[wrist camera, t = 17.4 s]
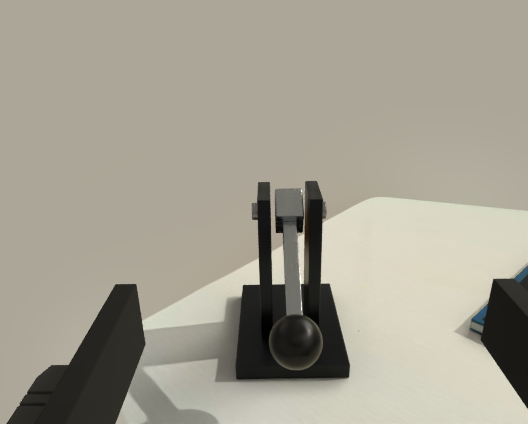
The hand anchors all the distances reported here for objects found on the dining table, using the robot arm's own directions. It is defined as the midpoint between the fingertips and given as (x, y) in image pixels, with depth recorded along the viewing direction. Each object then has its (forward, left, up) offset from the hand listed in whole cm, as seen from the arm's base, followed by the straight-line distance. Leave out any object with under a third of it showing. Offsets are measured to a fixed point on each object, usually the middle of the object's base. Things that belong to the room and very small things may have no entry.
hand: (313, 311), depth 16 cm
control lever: (+9, +13, -8) cm, 18 cm away
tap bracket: (+11, +16, -16) cm, 25 cm away
